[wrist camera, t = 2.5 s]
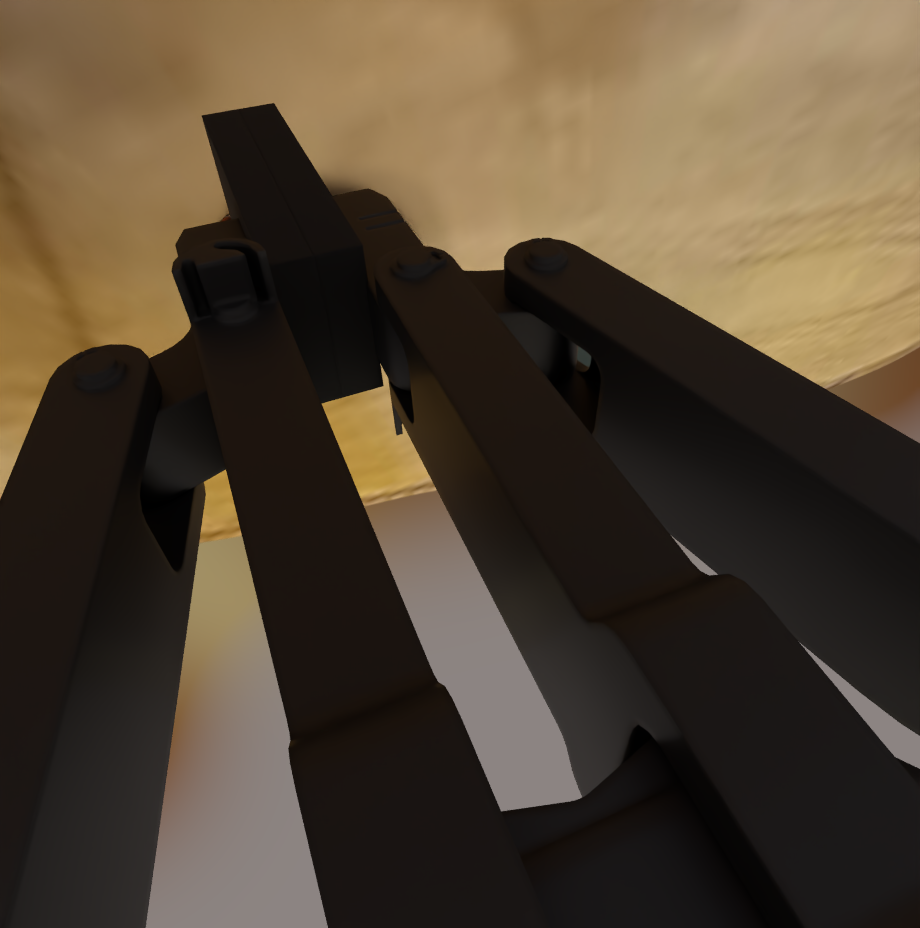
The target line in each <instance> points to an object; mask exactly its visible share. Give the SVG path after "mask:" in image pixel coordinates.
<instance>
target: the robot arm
mask: <svg viewBox="0 0 920 928" xmlns="http://www.w3.org/2000/svg"><path fill="white" fill-rule="evenodd" d="M202 118H203V122H204V125H205V129H206V132H207V136H208V139H209V143H210V146H211V150H212V153H213V157H214V160H215V164H216V167H217V171H218V174H219V178H220V182H221V185H222V189H223V192H224V196H225V199H226V203H227V206H228V210H229V213H230V217H231V220H226V221H222V222H217V223H212V224H207V225H202V226H198V227H193V228H188V229H184V230H183V232H182V234H181V236H180V237H179V239H178V241H177V243H176V249H177V254H178V258H177V259H176V260H175V261H174V262H173V266H172V274H173V277H174V279H175V282H176V285H177V287H178V290H179V293H180V295H181V298H182V301H183V304H184V306H185V309H186V312H187V314H188V317H189V320H190V323H191V328H190V330H189V332H188V333H187V334H186V335H185V337H184V338H183V339H182V340H180V341H179V342H178V343H177V344H175V345H174V346H173V347H171V348H169V349H167V350H165V351H163V352H162V353H160V354H157V355H155V356H153V357H151V358H148V356H147V355H146V354H145V353H144V352H143V351H142V350H141V349H139V348H136V347H133V346H129V345H105V346H101V347H94V348H90V349H88V350H85V351H84V352H80V353H78V354H76V355H74V356H73V357H71V358H70V359H68V360H67V361H66V362H64V363H63V364H62V365H60V366H59V367H58V368H57V369H56V371H55V372H54V374H53V375H52V376H51V378H50V380H49V382H48V384H47V387H46V389H45V392H44V394H43V397H42V399H41V401H40V404H39V406H38V409H37V411H36V414H35V416H34V419H33V421H32V423H31V426H30V428H29V431H28V433H27V436H26V438H25V441H24V443H23V445H22V448H21V450H20V453H19V455H18V458H17V460H16V462H15V465H14V467H13V470H12V472H11V475H10V477H9V480H8V482H7V484H6V487H5V489H4V492H3V494H2V497H1V499H0V928H145V927H146V920H147V913H148V906H149V899H150V898H149V897H150V891H151V884H152V877H153V869H154V863H155V855H156V848H157V841H158V834H159V827H160V819H161V811H162V805H163V798H164V791H165V783H166V776H167V769H168V762H169V755H170V747H171V740H172V732H173V726H174V719H175V711H176V705H177V697H178V690H179V683H180V675H181V668H182V661H183V654H184V647H185V640H186V633H187V625H188V618H189V611H190V603H191V597H192V589H193V582H194V575H195V568H196V561H197V554H198V546H199V539H200V532H201V525H202V518H203V510H204V503H205V496H206V493H205V486H204V481H206V480H208V479H210V478H211V477H213V476H215V475H217V474H218V473H220V472H222V471H224V470H225V469H226V471H227V475H228V480H229V484H230V488H231V492H232V496H233V500H234V504H235V508H236V512H237V517H238V521H239V525H240V529H241V533H242V537H243V541H244V545H245V550H246V554H247V558H248V561H249V566H250V570H251V574H252V578H253V583H254V587H255V591H256V595H257V599H258V603H259V607H260V611H261V615H262V620H263V624H264V628H265V632H266V636H267V640H268V644H269V648H270V653H271V657H272V661H273V665H274V669H275V673H276V677H277V681H278V685H279V689H280V694H281V698H282V702H283V706H284V710H285V714H286V718H287V723H288V728H289V732H290V740H291V741H290V745H289V748H288V749H289V757H290V765H291V770H292V775H293V779H294V784H295V789H296V793H297V797H298V802H299V806H300V810H301V814H302V819H303V823H304V827H305V831H306V835H307V839H308V844H309V849H310V853H311V857H312V861H313V865H314V869H315V874H316V878H317V882H318V887H319V891H320V895H321V900H322V904H323V908H324V912H325V917H326V921H327V925H328V928H920V769H919V768H917V767H914V766H912V765H910V764H908V763H906V762H904V761H902V760H900V759H898V758H896V757H894V755H893V754H892V753H891V752H890V751H889V750H888V748H887V747H886V746H885V745H884V744H883V742H882V741H881V740H880V739H879V738H878V736H877V735H876V734H875V733H874V732H873V730H872V729H871V728H870V727H869V726H868V725H867V723H866V722H865V721H864V720H863V718H862V717H861V716H860V715H859V714H858V712H857V711H856V710H855V709H854V708H853V706H852V705H851V704H850V703H849V702H848V700H847V699H846V698H845V697H844V696H843V694H842V693H841V692H840V691H839V690H838V688H837V687H836V686H835V685H834V684H833V682H832V681H831V680H830V679H829V678H828V676H827V675H826V674H825V673H824V672H823V670H822V669H821V668H820V667H819V666H818V664H817V663H816V662H815V661H814V660H813V659H812V657H811V656H810V655H809V654H808V653H807V652H806V650H805V649H804V648H803V646H801V644H802V645H804V646H805V647H806V648H807V649H809V650H810V651H811V652H812V653H813V654H815V655H816V656H817V657H818V658H819V659H821V660H822V661H823V662H824V663H825V664H827V665H828V666H829V667H830V668H831V669H833V670H834V671H835V672H836V673H837V674H839V675H840V676H841V677H842V678H843V679H845V680H846V681H847V682H848V683H849V684H851V685H852V686H853V687H854V688H855V689H857V690H858V691H859V692H860V693H862V694H863V695H864V696H866V697H867V698H868V699H869V700H871V701H872V702H873V703H875V704H876V705H877V706H879V707H880V708H881V709H882V710H884V711H885V712H886V713H888V714H889V715H890V716H892V717H893V718H894V719H896V720H897V721H898V722H900V723H901V724H903V725H904V726H906V727H907V728H909V729H910V730H912V731H913V732H915V733H916V734H918V735H920V443H918V442H916V441H914V440H913V439H911V438H909V437H908V436H906V435H904V434H902V433H901V432H899V431H897V430H896V429H894V428H892V427H890V426H889V425H887V424H885V423H883V422H882V421H880V420H878V419H876V418H875V417H873V416H871V415H870V414H868V413H866V412H864V411H863V410H861V409H859V408H857V407H855V406H854V405H852V404H850V403H849V402H847V401H845V400H843V399H842V398H840V397H838V396H837V395H835V394H833V393H831V392H829V391H828V390H826V389H824V388H823V387H821V386H819V385H817V384H816V383H814V382H812V381H810V380H809V379H807V378H805V377H804V376H802V375H800V374H798V373H797V372H795V371H793V370H791V369H790V368H788V367H786V366H784V365H783V364H781V363H779V362H777V361H776V360H774V359H772V358H771V357H769V356H767V355H765V354H764V353H762V352H760V351H758V350H757V349H755V348H753V347H751V346H750V345H748V344H746V343H744V342H743V341H741V340H739V339H738V338H736V337H734V336H732V335H731V334H729V333H727V332H725V331H724V330H722V329H720V328H718V327H717V326H715V325H713V324H711V323H710V322H708V321H706V320H705V319H703V318H701V317H699V316H698V315H696V314H694V313H692V312H691V311H689V310H687V309H685V308H684V307H682V306H680V305H678V304H677V303H675V302H673V301H672V300H670V299H668V298H666V297H665V296H663V295H661V294H659V293H658V292H656V291H654V290H652V289H651V288H649V287H647V286H645V285H644V284H642V283H640V282H639V281H637V280H635V279H633V278H632V277H630V276H628V275H626V274H625V273H623V272H621V271H619V270H618V269H616V268H614V267H612V266H611V265H609V264H607V263H606V262H604V261H602V260H600V259H599V258H597V257H595V256H593V255H592V254H590V253H588V252H586V251H585V250H583V249H581V248H579V247H578V246H576V245H573V244H571V243H568V242H566V241H562V240H555V239H552V238H542V239H540V238H536V239H531V240H528V241H525V242H521V243H518V244H517V245H515V246H513V247H512V248H510V249H509V250H508V252H507V253H506V255H505V256H504V270H493V271H464V270H462V269H461V267H460V266H459V265H458V264H457V262H456V261H455V260H454V259H453V257H451V256H450V255H449V254H448V253H446V252H445V251H443V250H440V249H437V248H433V247H427V246H423V244H422V243H421V242H420V240H419V239H418V238H417V236H416V235H415V234H414V232H413V231H412V230H411V228H410V227H409V226H408V224H407V223H406V222H404V219H403V218H402V216H401V215H400V214H399V212H397V210H396V208H395V207H394V206H393V204H392V203H391V202H390V200H389V199H388V198H387V197H386V196H383V195H381V194H379V193H377V192H375V191H373V190H371V189H364V190H359V191H354V192H349V193H345V194H340V195H335V196H332V195H331V193H330V192H329V190H328V189H327V187H326V185H325V184H324V182H323V181H322V179H321V177H320V176H319V174H318V173H317V171H316V170H315V168H314V166H313V165H312V163H311V162H310V160H309V158H308V157H307V155H306V154H305V152H304V150H303V149H302V147H301V146H300V144H299V142H298V141H297V139H296V138H295V136H294V134H293V133H292V131H291V130H290V128H289V127H288V125H287V123H286V122H285V120H284V119H283V117H282V115H281V114H280V112H279V111H278V109H277V107H276V106H275V104H274V103H272V104H266V105H260V106H254V107H248V108H243V109H237V110H231V111H225V112H220V113H214V114H208V115H202ZM578 346H579V347H580V348H582V349H583V350H585V351H586V352H587V353H588V354H589V355H590V356H591V364H590V367H588V366H586V365H584V364H583V363H581V362H580V361H578V360H577V354H578ZM380 363H381V365H382V367H383V369H384V371H385V373H386V375H387V376H388V379H389V387H390V394H391V401H392V408H393V415H394V423H395V429H396V434H397V435H400V434H403V433H402V423H403V425H404V427H405V429H406V431H407V433H408V435H409V437H410V439H411V441H412V443H413V444H414V446H415V448H416V450H417V452H418V454H419V456H420V458H421V460H422V462H423V464H424V466H425V468H426V470H427V472H428V474H429V476H430V477H431V479H432V481H433V483H434V485H435V487H436V489H437V491H438V493H439V495H440V497H441V499H442V501H443V503H444V505H445V506H446V509H447V511H448V512H449V514H450V516H451V518H452V520H453V522H454V524H455V526H456V528H457V530H458V532H459V534H460V536H461V538H462V540H463V541H464V544H465V546H466V547H467V549H468V551H469V553H470V555H471V557H472V559H473V561H474V563H475V565H476V567H477V569H478V571H479V573H480V574H481V577H482V578H483V581H484V582H485V584H486V586H487V588H488V590H489V592H490V594H491V596H492V598H493V600H494V602H495V604H496V606H497V608H498V610H499V612H500V614H501V615H502V617H503V619H504V621H505V623H506V625H507V627H508V629H509V631H510V633H511V635H512V637H513V639H514V641H515V643H516V645H517V646H518V649H519V650H520V652H521V654H522V656H523V658H524V660H525V662H526V664H527V666H528V668H529V670H530V672H531V674H532V676H533V678H534V680H535V682H536V683H537V685H538V687H539V689H540V691H541V693H542V695H543V697H544V699H545V701H546V703H547V705H548V707H549V709H550V710H551V713H552V715H553V717H554V719H555V720H556V722H557V724H558V726H559V729H560V731H561V733H562V735H563V738H564V741H565V744H566V746H567V751H568V755H569V759H570V762H571V767H572V771H573V774H574V777H575V780H576V782H577V785H578V788H579V790H580V792H581V795H582V798H580V799H578V800H575V801H571V802H565V803H557V804H550V805H543V806H536V807H529V808H522V809H516V810H509V811H502V812H501V811H500V808H499V806H498V804H497V801H496V799H495V796H494V794H493V792H492V789H491V787H490V784H489V782H488V780H487V777H486V775H485V773H484V770H483V768H482V766H481V763H480V761H479V759H478V756H477V754H476V752H475V749H474V747H473V745H472V742H471V740H470V737H469V735H468V733H467V730H466V728H465V726H464V724H463V721H462V719H461V716H460V714H459V712H458V710H457V708H456V706H455V703H454V701H453V699H452V697H451V696H450V694H449V692H448V691H447V689H446V687H445V686H444V685H442V684H440V683H439V682H438V681H437V679H436V677H435V676H434V673H433V671H432V669H431V667H430V665H429V662H428V660H427V657H426V655H425V652H424V650H423V648H422V645H421V643H420V640H419V638H418V636H417V633H416V631H415V628H414V626H413V624H412V621H411V619H410V616H409V614H408V611H407V609H406V607H405V605H404V602H403V599H402V597H401V595H400V592H399V590H398V587H397V585H396V583H395V580H394V578H393V575H392V573H391V571H390V568H389V566H388V563H387V561H386V558H385V556H384V554H383V552H382V549H381V547H380V544H379V542H378V539H377V537H376V534H375V532H374V529H373V528H372V525H371V522H370V520H369V517H368V515H367V513H366V510H365V508H364V505H363V503H362V501H361V498H360V496H359V493H358V491H357V488H356V486H355V484H354V481H353V479H352V476H351V474H350V472H349V469H348V467H347V464H346V462H345V460H344V457H343V455H342V452H341V450H340V447H339V445H338V443H337V440H336V438H335V435H334V433H333V431H332V428H331V426H330V423H329V421H328V419H327V416H326V414H325V411H324V409H323V406H322V404H321V403H325V402H328V401H332V400H335V399H339V398H342V397H346V396H350V395H353V394H357V393H360V392H364V391H367V390H371V389H375V388H378V387H382V386H383V379H382V373H381V366H380ZM672 536H673V537H674V538H675V539H676V540H677V541H679V542H680V543H681V544H682V545H683V546H685V547H686V548H687V549H688V550H690V551H691V552H692V553H693V554H695V556H697V557H698V558H699V559H700V560H702V561H703V562H704V563H705V564H706V565H708V566H709V567H710V568H711V569H712V570H714V571H715V572H716V573H717V574H718V575H711V576H709V575H707V574H705V573H703V572H701V571H700V570H699V569H698V568H697V567H696V566H695V565H694V564H693V563H692V562H691V561H690V559H689V558H688V557H687V556H686V554H685V553H684V552H683V550H682V549H681V548H680V547H679V545H678V544H677V543H676V542H675V540H674V539H673V538H672ZM798 641H799V642H800V643H801V644H800V643H799V642H798Z"/></svg>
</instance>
